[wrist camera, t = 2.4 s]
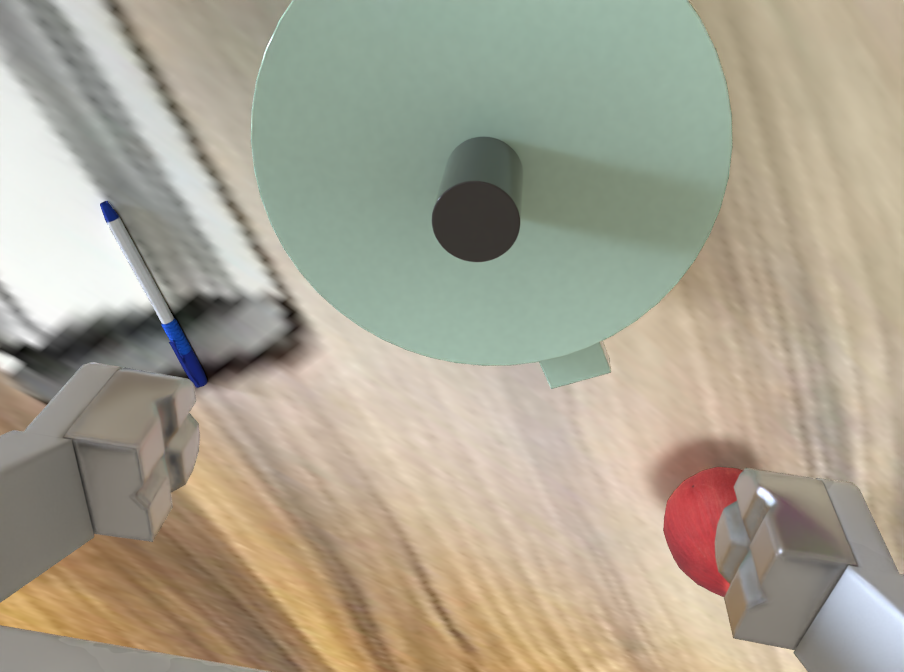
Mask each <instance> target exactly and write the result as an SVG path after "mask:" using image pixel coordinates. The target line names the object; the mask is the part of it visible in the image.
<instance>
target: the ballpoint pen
mask: <svg viewBox="0 0 904 672" xmlns="http://www.w3.org/2000/svg"><path fill="white" fill-rule="evenodd" d="M100 206H101V209H102V212H103V215H104V218H105V220H106V223H107V225H108V226H109V228H110V230H111V232H112V234H113V235H114V237H115V239H116V241H117V243H118V244H119V246H120V248H121V250H122V252H123V254H124V255H125V257H126V259H127V261H128V263H129V264H130V266H131V268H132V270H133V272H134V273H135V275H136V277H137V279H138V281H139V282H140V284H141V286H142V288H143V290H144V292H145V293H146V295H147V297H148V299H149V301H150V302H151V304H152V306H153V308H154V310H155V311H156V313H157V315H158V317H159V319H160V320H161V322H162V327H163V328H164V331H166V334H167V336H168V338H169V340H170V341H171V342H169V343H170V345H171V347H172V349H173V350H174V352H175V354H176V356H177V358H178V360H179V362H180V363H181V365H182V367H183V369H184V371H185V372H186V374H187V375H188V377H189V378H190V380H191V381H192V382H193V383H194V385H195V386H196V387H197V388H198V387H202V386H204V385H206V383H207V378H206V376H205V373H204V371H203V369H202V367H201V365H200V363H199V361H198V359H197V357H196V355H195V354H194V352H193V350H192V348H191V346H190V345H189V342H188V340H187V339H186V337H185V335H184V333H183V332H182V329H181V327H180V326H179V324H178V322H177V320H176V319H175V318H174V317H173V315H172V314H171V312H170V310H169V308H168V306H167V304H166V303H165V301H164V299H163V297H162V295H161V293H160V291H159V290H158V288H157V286H156V284H155V282H154V280H153V278H152V277H151V275H150V273H149V271H148V269H147V267H146V266H145V264H144V262H143V260H142V258H141V256H140V254H139V253H138V251H137V249H136V247H135V245H134V243H133V241H132V240H131V238H130V236H129V234H128V232H127V230H126V228H125V227H124V225H123V223H122V221H121V219H120V217H119V216H118V214H117V213H116V212H115V210H114V209H113V208H112V207H111V205H110V204H109V203H108V201H105V202H102V203H101V204H100Z"/></svg>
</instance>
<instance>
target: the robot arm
mask: <svg viewBox="0 0 904 672" xmlns="http://www.w3.org/2000/svg"><path fill="white" fill-rule="evenodd" d="M195 402H196V395H195V389H194V383H193V382H191V381H190V380H189V379H186V378H180V377H175V376H169V375H164V374H158V373H153V372H147V371H142V370H136V369H131V368H126V367H124V368H121V367H117V366H111V365H106V364H100V363H95V362H91V363H88V364H85V365H83V366H82V367H81V368H80V369H79V370H78V371H77V372H76V373H75V374H74V375H73V377H72V378H71V379H70V380H69V381H68V382H67V383H66V384H65V386H64V387H63V388H62V389H61V390H60V391H59V392H58V393H57V395H56V396H55V397H54V398H53V399H52V400H51V401H50V402H49V404H48V405H47V406H46V407H45V408H44V409H43V410H42V411H41V413H40V414H39V415H38V416H37V417H36V418H35V419H34V420H33V422H32V423H31V424H30V425H29V426H28V427H27V428H26V429H25V431H24V432H22V431H15V430H13V431H10V432H8V433H6V434H3V435H1V436H0V602H2V601H3V600H5V599H6V598H8V597H9V596H10V595H12V594H13V593H15V592H16V591H18V590H19V589H20V588H22V587H23V586H25V585H26V584H28V583H29V582H30V581H32V580H33V579H35V578H36V577H38V576H39V575H41V574H42V573H43V572H45V571H46V570H48V569H49V568H51V567H52V566H53V565H55V564H56V563H58V562H59V561H61V560H62V559H63V558H65V557H66V556H68V555H69V554H71V553H72V552H74V551H75V550H76V549H78V548H79V547H81V546H82V545H84V544H85V543H86V542H88V541H89V540H91V539H92V538H94V534H100V535H108V536H115V537H122V538H129V539H137V540H144V541H151V542H153V541H154V539H155V537H156V535H157V534H158V532H159V530H160V528H161V527H162V525H163V523H164V521H165V520H166V518H167V516H168V514H169V513H170V511H171V509H172V507H173V505H172V497H171V492H173V491H175V490H177V489H178V488H180V487H182V486H184V485H185V484H186V482H187V481H188V479H189V477H190V475H191V473H192V471H193V469H194V466H195V462H196V459H197V456H198V452H199V442H200V431H199V423H198V422H197V421H196V420H195V419H194V418H193V416H192V415H191V414H190V413H189V412H190V410H191V409H192V407H193V405H194V404H195ZM734 490H735V494H736V497H737V501H735V502H734V503H732V504H730V505H729V506H727V507H725V508H724V509H723V512H722V514H721V517H720V519H719V522H718V524H717V530H716V537H715V558H716V563H717V568H718V572H719V573H720V574H721V575H722V576H723V577H724V578H725V579H726V580H727V582H728V583H729V584H730V586H729V589H728V591H727V593H726V595H725V597H724V600H725V604H726V608H727V613H728V617H729V622H730V626H731V630H732V635H733V638H735V639H740V640H745V641H750V642H755V643H761V644H766V645H771V646H776V647H781V648H786V649H792V650H795V651H794V654H795V655H796V657H797V658H798V659H799V661H800V662H801V663H802V664H803V666H804V667H805V668H806V670H807V671H808V672H904V575H903V574H899V572H898V569H897V567H896V565H895V563H894V561H893V559H892V557H891V555H890V553H889V550H888V548H887V546H886V544H885V542H884V540H883V538H882V536H881V533H880V531H879V529H878V527H877V525H876V523H875V521H874V519H873V517H872V514H871V512H870V510H869V508H868V506H867V504H866V502H865V500H864V497H863V495H862V493H861V491H860V489H859V488H858V487H857V486H856V485H855V484H853V483H851V482H844V481H836V480H829V479H822V478H811V477H804V476H798V475H791V474H784V473H778V472H771V471H765V470H758V469H752V468H745V469H744V470H743V471H742V472H741V473H740V475H739V477H738V479H737V481H736V483H735V485H734ZM0 672H270V671H264V670H259V669H253V668H247V667H241V666H235V665H229V664H224V663H218V662H212V661H206V660H200V659H195V658H189V657H183V656H177V655H171V654H165V653H160V652H154V651H148V650H142V649H136V648H130V647H124V646H119V645H113V644H107V643H101V642H95V641H89V640H83V639H77V638H72V637H66V636H60V635H54V634H48V633H42V632H36V631H31V630H25V629H19V628H13V627H7V626H1V625H0Z"/></svg>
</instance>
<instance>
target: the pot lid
mask: <svg viewBox="0 0 904 672" xmlns="http://www.w3.org/2000/svg"><path fill="white" fill-rule="evenodd" d="M251 145H252V155H253V164H254V171H255V175H256V179H257V183H258V188H259V192H260V196H261V199H262V202H263V204H264V207H265V210H266V212H267V215H268V218H269V220H270V223H271V225H272V227H273V229H274V231H275V233H276V235H277V237H278V238H279V240H280V242H281V244H282V246H283V248H284V250H285V251H286V253H287V254H288V256H289V257H290V258H291V260H292V261H293V263H294V264H295V266H296V267H297V269H298V270H299V271H300V273H301V274H302V275H303V276H304V277H305V278H306V280H307V281H308V282H309V283H310V284H311V285H312V286H313V288H314V289H315V290H316V291H317V292H318V293H319V294H320V295H321V296H322V297H323V298H324V299H326V300H327V301H328V302H329V303H330V304H331V305H332V306H333V307H334V308H335V309H337V310H338V311H339V312H340V313H342V314H343V315H345V316H346V317H347V318H349V319H350V320H351V321H353V322H354V323H356V324H357V325H358V326H360V327H362V328H363V329H365V330H367V331H368V332H370V333H372V334H374V335H375V336H377V337H379V338H381V339H383V340H385V341H387V342H389V343H392V344H394V345H396V346H399V347H401V348H403V349H405V350H408V351H411V352H414V353H418V354H421V355H424V356H427V357H430V358H434V359H439V360H444V361H449V362H454V363H461V364H471V365H482V366H500V365H518V364H526V363H535V362H540V361H544V360H549V359H553V358H557V357H562V356H565V355H568V354H571V353H574V352H576V351H579V350H582V349H585V348H588V347H590V346H592V345H594V344H596V343H598V342H600V341H603V340H605V339H607V338H609V337H611V336H613V335H614V334H616V333H618V332H619V331H621V330H622V329H624V328H626V327H627V326H629V325H630V324H632V323H634V322H635V321H637V320H638V319H639V318H640V317H642V316H643V315H644V314H645V313H647V312H648V311H649V310H650V309H651V308H653V307H654V306H655V305H656V304H658V303H659V302H660V301H661V300H662V299H663V298H664V296H665V295H666V294H667V293H668V292H669V291H670V290H671V289H672V288H673V287H674V286H675V285H676V284H677V283H678V282H679V280H680V279H681V278H682V277H683V275H684V274H685V273H686V271H687V270H688V269H689V267H690V266H691V265H692V263H693V262H694V261H695V259H696V257H697V256H698V254H699V252H700V250H701V249H702V247H703V245H704V243H705V242H706V240H707V238H708V237H709V235H710V232H711V230H712V228H713V225H714V223H715V220H716V218H717V215H718V213H719V211H720V208H721V205H722V201H723V197H724V194H725V190H726V186H727V182H728V179H729V171H730V163H731V155H732V113H731V107H730V101H729V95H728V88H727V82H726V79H725V76H724V73H723V70H722V67H721V64H720V60H719V57H718V54H717V51H716V49H715V47H714V45H713V43H712V41H711V39H710V37H709V35H708V33H707V31H706V28H705V26H704V24H703V22H702V20H701V19H700V17H699V16H698V14H697V13H696V11H695V10H694V9H693V7H692V6H691V4H690V3H689V1H688V0H292V2H291V4H290V5H289V7H288V8H287V10H286V11H285V13H284V14H283V16H282V17H281V19H280V20H279V22H278V24H277V27H276V29H275V31H274V33H273V35H272V37H271V39H270V41H269V44H268V46H267V48H266V50H265V54H264V57H263V60H262V63H261V67H260V70H259V73H258V76H257V80H256V86H255V92H254V98H253V104H252V115H251Z"/></svg>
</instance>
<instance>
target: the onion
mask: <svg viewBox="0 0 904 672" xmlns="http://www.w3.org/2000/svg"><path fill="white" fill-rule="evenodd" d="M742 471H743V470H740V469H737V468H727V467H715V468H710V469H706V470H703V471H701V472H699V473H697V474H695V475H693V476H692V477H690V478H688V479H686V480H684V481H683V482H682V483H681V484H680V485H679V486H678V487H677V489H676V490H675V491H674V492H673V493H672V495H671V496H670V498H669V499H668V501H667V505H666V511H665V516H664V528H663V531H664V535H665V538H666V541H667V544H668V546H669V549H670V551H671V553H672V556H673V558H674V560H675V561H676V563H677V565H678V566H679V568H680V569H681V570H682V571H683V572H684V573H685V574H686V575H687V576H689V577H690V578H691V579H692V580H693V581H694V582H695V583H696V584H698V585H700V586H702V587H704V588H706V589H707V590H709V591H711V592H713V593H715V594H718V595H720V596H722V597H725V595H726V593H727V591H728V589H729V586H730V584H729V583H728V582H727V580H726V579H725V578H724V577H723V576H722V575H721V574H720V573H719V572H718V568H717V563H716V558H715V537H716V530H717V524H718V522H719V519H720V517H721V514H722V512H723V509H724V508H725V507H727V506H729V505H730V504H732V503H734V502H735V501H737V497H736V494H735V490H734V485H735V483H736V481H737V479H738V477H739V475H740V473H741V472H742Z"/></svg>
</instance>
